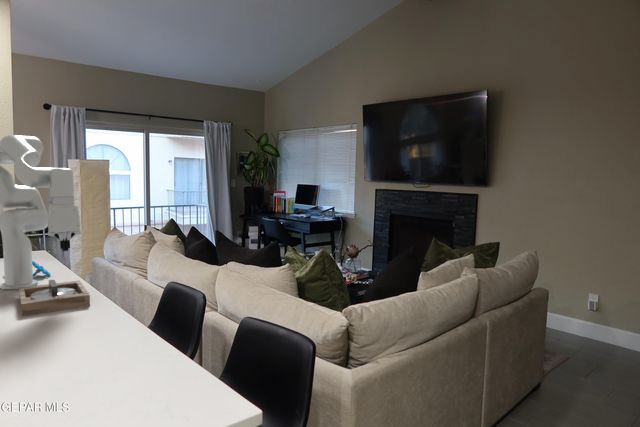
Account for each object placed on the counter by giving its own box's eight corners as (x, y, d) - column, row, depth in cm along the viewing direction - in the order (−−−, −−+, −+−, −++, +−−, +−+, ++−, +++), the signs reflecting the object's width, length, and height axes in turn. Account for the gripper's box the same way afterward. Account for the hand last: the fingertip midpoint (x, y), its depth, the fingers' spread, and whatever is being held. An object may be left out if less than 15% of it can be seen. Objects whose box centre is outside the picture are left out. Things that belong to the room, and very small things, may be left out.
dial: (29, 295, 161) (28, 281, 160) (72, 289, 169) (72, 276, 168) (31, 305, 149) (31, 290, 149) (78, 298, 158) (77, 284, 157)
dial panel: (19, 298, 163) (18, 287, 163) (80, 290, 175) (79, 279, 174) (22, 315, 144) (21, 303, 143) (90, 305, 156) (90, 294, 155)
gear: (50, 274, 192) (31, 260, 189) (39, 285, 190) (19, 270, 187) (53, 273, 202) (34, 258, 199) (42, 283, 200) (23, 268, 197)
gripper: (39, 202, 154) (42, 254, 156) (87, 201, 163) (89, 250, 165) (38, 201, 160) (40, 251, 162) (84, 200, 169) (86, 247, 171)
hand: (65, 250), depth 163 cm, fingers closed
